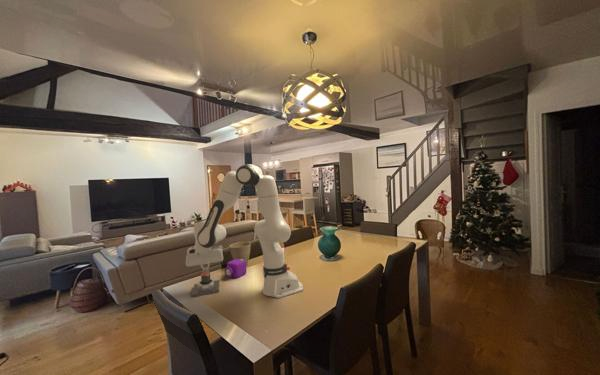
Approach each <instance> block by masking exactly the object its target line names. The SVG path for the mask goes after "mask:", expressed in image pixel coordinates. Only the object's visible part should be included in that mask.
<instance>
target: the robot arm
mask: <svg viewBox="0 0 600 375" xmlns="http://www.w3.org/2000/svg"><path fill="white" fill-rule="evenodd" d="M276 183H277V182H276V180H275V177H273V176H272V175H269V174H264V169H263V168H262V167H261V166H259V165H256V164H252V163H250V164H249V163H247V164H242V165H241V166H239V167H238V168H237V169H236V171H235V170H231V171H228V172H227V173H226V174H225V176H223V180H222V182H221V185H220V187H219V190H218V193H217V195H216V198H215V200H214V202H213V204H212V205H211V207H210V210H209V212H208V214H207V217H206V218H205V219H201V220H198V221H197V220H196V221H195V222H194V224H193V235H194V238H195V241H194V242H195V243H194V245H193V246H190V247H188V248H187V250H186V256H185V266H186V267H187V268H189V267H195V266H200V267H201V269H202V271H203V272H210V271H209V268H210V266H211V264H213V263H219V262H223V260H224V254H223V252H224V247H223V246H222V245H216V244H217V243H219V242H221V241H223V240H224V239H226V237H227V234H228V233H227V229H226V227H225V225H223V224H220V223H219V222H220V220H221V217H222V215H223V214H225V213H226V211H228V210H229V209H231V208H232V207H233V206H235V205H236V203H237V201H238V200H239V197H240V194H241V190H242V188H243V187H244V186H248V187H253V188H256V193H257V195H256V196H257V201H258V203H257V204H258V210H259V213H260V214H261V215H262V217H263V219H262V220H258V221H257V222H256V223H255V225H254V229H253V231H254V234H255V235H256V237H257V238H258V240H259V244H260V247H261V251H262V258H263V266H262V267H263V269H262V272H263V273H262V274H263V285H262V286H263V288H262V294H263V295H264V296H267V297H274V298H276V299H280V298H284V297H287V296H289V295H293V294H297V293H300V292H303V291H304V285H303V283H302V282H301V281H300V280H299V278H298V276H297V275H296V274H295V273H294V272H292V271H290V269H291V266H289V265H288V264H286V263H285V260H284V259H285V258H284V249H283V247H281V245H280V243H286V242H287V241H288V240H289V239H290V237H291V235H292V229H291V227H290V225H289V224H288V223H287V222H286V220H285V218H284V216H283V213H282V212H281V208H280V206H281V205H280V201H279V200H280V199H279V191H278V187H277V184H276ZM206 264H207V266H206V267H204V265H206ZM203 272H202V273H203Z"/></svg>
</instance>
